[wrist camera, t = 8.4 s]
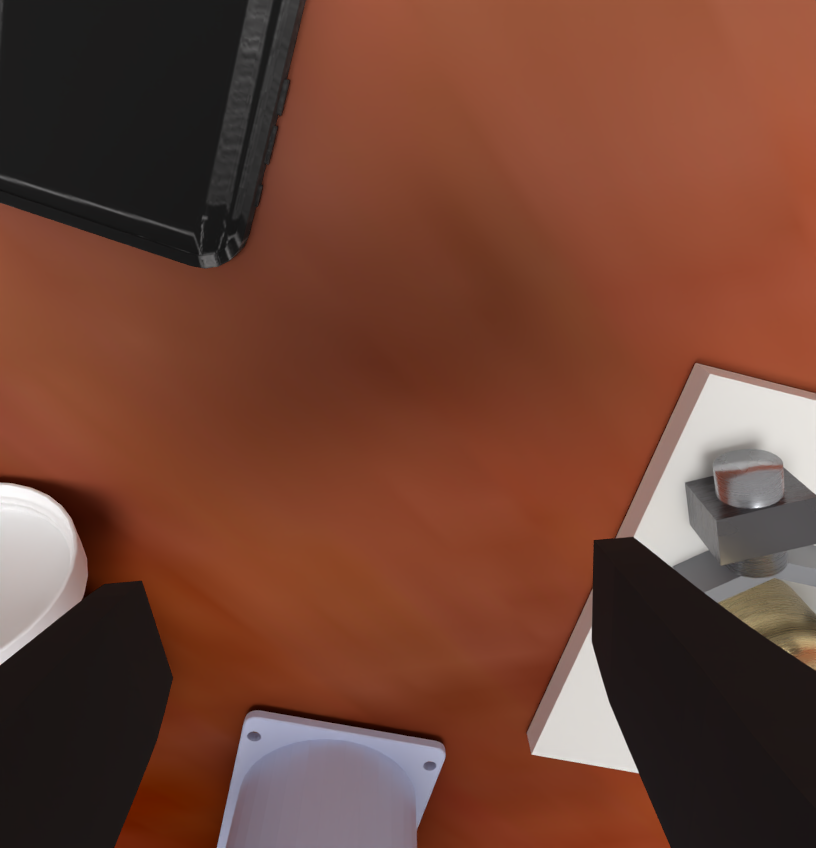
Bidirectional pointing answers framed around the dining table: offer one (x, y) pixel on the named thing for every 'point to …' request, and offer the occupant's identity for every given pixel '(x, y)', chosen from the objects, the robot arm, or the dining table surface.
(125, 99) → the phone
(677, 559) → the base plate
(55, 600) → the spread jar
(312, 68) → the dining table surface
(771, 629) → the cylinder
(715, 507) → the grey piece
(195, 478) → the dining table surface
